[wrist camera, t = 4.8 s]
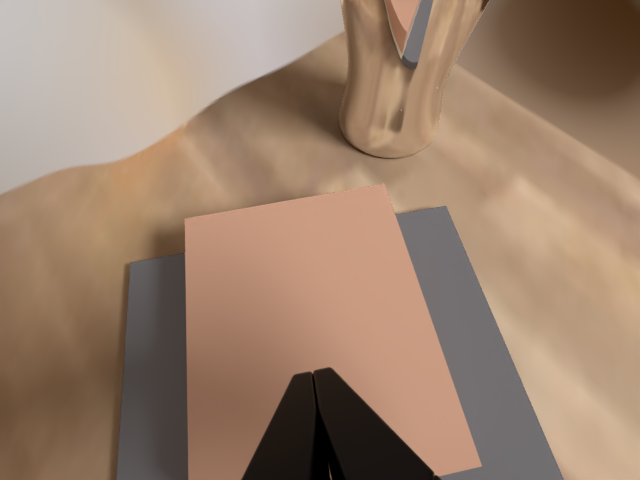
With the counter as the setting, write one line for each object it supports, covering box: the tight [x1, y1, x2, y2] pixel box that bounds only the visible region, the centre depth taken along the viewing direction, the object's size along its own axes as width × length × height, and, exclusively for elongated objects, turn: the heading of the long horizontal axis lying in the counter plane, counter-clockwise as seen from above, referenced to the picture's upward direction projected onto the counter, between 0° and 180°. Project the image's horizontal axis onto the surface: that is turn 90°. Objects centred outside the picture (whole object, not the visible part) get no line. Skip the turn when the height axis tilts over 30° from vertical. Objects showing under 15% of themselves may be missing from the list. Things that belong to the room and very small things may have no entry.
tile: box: [185, 184, 482, 480], centre depth 14 cm, size 2×9×11 cm
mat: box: [116, 206, 564, 480], centre depth 14 cm, size 16×16×1 cm
